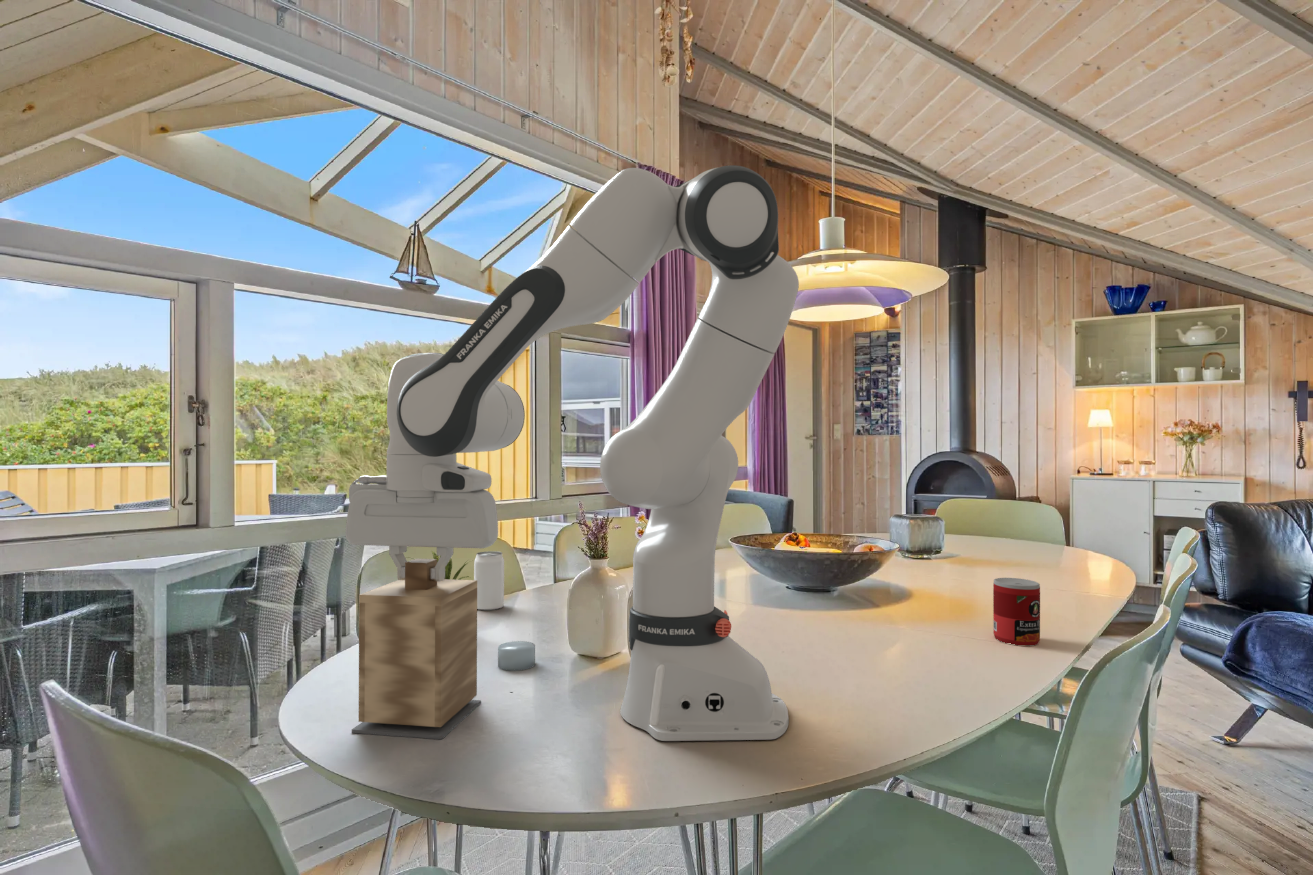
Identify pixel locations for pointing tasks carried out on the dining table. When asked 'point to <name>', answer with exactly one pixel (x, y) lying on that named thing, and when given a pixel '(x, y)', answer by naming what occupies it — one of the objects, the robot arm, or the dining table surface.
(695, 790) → the dining table surface
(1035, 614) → the canned food
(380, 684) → the oak cover
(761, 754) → the dining table surface
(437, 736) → the felt mat
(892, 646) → the dining table surface
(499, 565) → the can
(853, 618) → the dining table surface
